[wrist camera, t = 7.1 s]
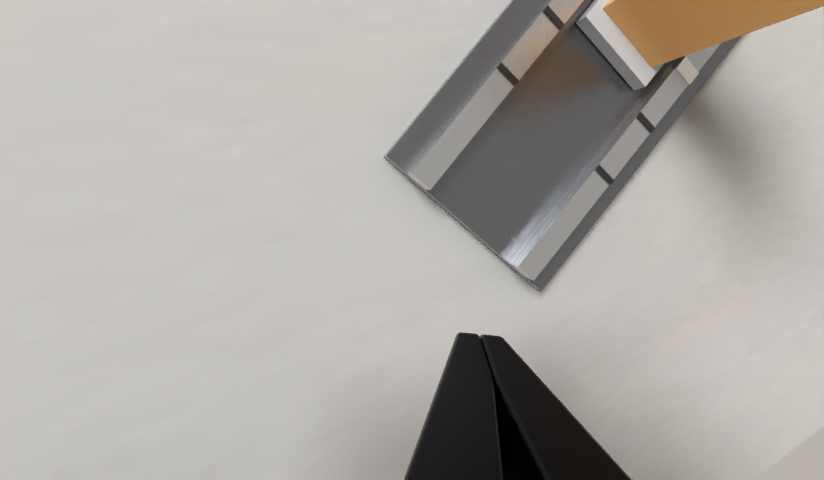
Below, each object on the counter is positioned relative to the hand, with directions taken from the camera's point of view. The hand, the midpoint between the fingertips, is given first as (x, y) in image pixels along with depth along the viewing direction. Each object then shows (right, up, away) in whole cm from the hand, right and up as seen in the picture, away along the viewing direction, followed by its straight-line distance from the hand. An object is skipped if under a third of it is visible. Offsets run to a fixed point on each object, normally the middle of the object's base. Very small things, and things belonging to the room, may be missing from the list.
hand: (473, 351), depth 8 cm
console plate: (+8, +11, +14) cm, 19 cm away
